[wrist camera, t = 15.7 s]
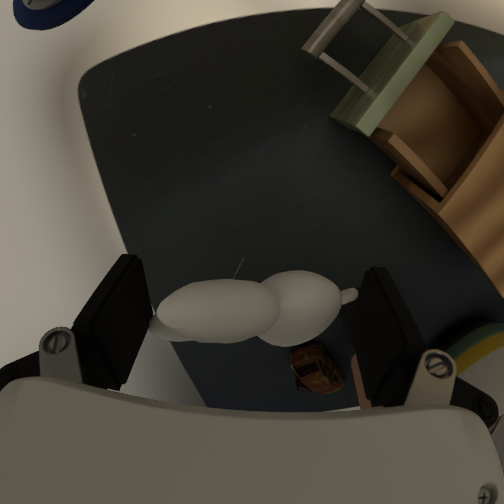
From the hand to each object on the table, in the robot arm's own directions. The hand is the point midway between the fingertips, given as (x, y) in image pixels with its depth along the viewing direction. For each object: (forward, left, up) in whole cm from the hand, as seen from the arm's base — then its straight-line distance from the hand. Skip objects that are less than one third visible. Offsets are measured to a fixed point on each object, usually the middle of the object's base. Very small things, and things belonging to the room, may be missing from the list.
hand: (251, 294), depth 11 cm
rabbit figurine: (0, 0, -2) cm, 2 cm away
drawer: (-5, +15, -19) cm, 24 cm away
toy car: (+31, +1, -20) cm, 37 cm away
